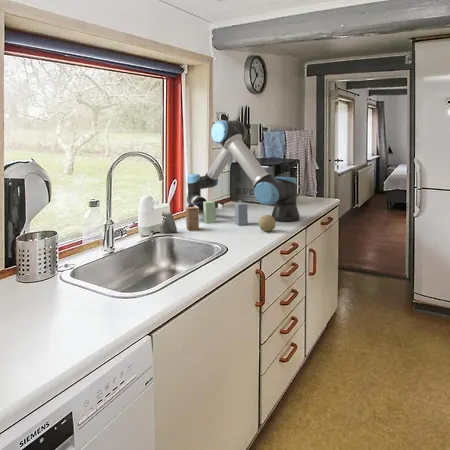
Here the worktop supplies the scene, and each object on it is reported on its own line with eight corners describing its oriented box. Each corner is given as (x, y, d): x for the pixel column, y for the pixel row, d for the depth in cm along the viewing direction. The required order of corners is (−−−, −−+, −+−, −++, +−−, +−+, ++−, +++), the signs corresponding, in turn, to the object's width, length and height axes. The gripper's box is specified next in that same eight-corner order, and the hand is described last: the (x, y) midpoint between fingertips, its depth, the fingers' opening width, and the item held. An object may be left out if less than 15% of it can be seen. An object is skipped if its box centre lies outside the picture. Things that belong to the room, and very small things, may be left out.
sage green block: (204, 221, 238) (203, 201, 236) (212, 220, 240) (212, 200, 237) (206, 223, 234) (205, 203, 231) (215, 222, 235) (214, 202, 233)
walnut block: (186, 229, 222) (185, 207, 220) (196, 228, 224) (195, 206, 221) (189, 231, 217) (188, 209, 215) (199, 230, 219) (198, 208, 217)
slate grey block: (235, 224, 230) (234, 203, 228) (244, 223, 232) (243, 202, 230) (238, 225, 226) (238, 204, 223) (247, 224, 227) (247, 203, 225)
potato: (258, 229, 216) (258, 213, 214) (274, 229, 215) (274, 213, 214) (259, 233, 208) (259, 216, 207) (275, 233, 208) (275, 216, 206)
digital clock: (178, 232, 216) (177, 210, 214) (163, 235, 210) (162, 213, 208) (159, 227, 227) (158, 207, 225) (144, 230, 221) (143, 209, 219)
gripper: (219, 207, 257) (232, 213, 238) (178, 211, 249) (187, 217, 230) (219, 194, 256) (232, 199, 236) (177, 198, 248) (187, 203, 228)
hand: (210, 208), depth 233 cm, fingers open, 13 cm apart
